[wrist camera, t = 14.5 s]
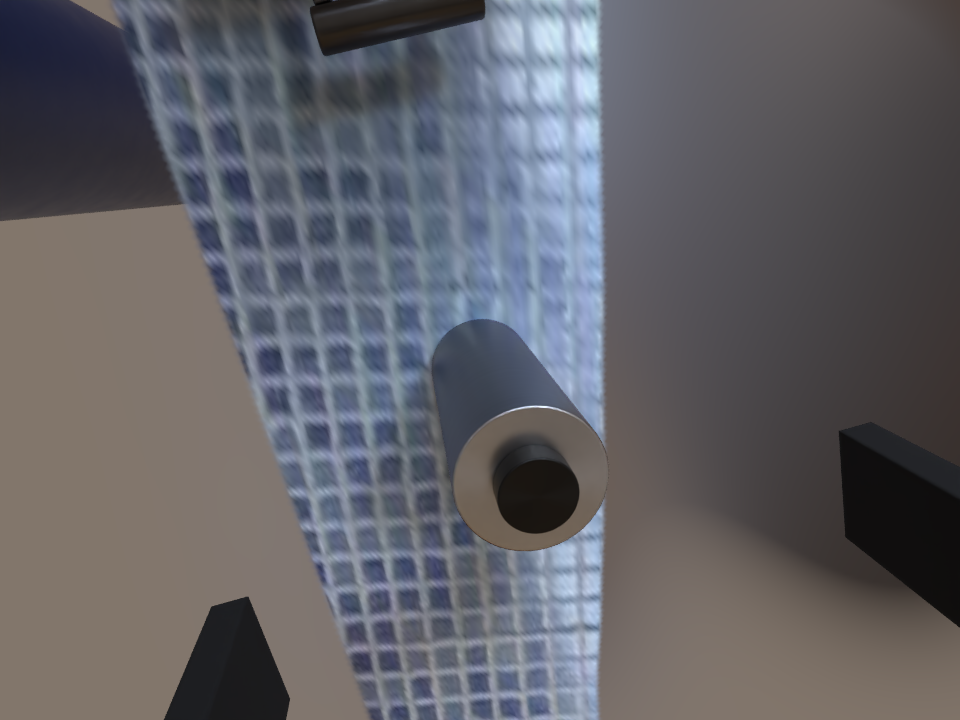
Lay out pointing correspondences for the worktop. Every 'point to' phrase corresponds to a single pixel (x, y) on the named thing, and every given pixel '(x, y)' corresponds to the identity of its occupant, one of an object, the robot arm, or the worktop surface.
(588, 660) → the worktop surface
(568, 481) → the metal bottle
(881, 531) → the robot arm
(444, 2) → the drawer
